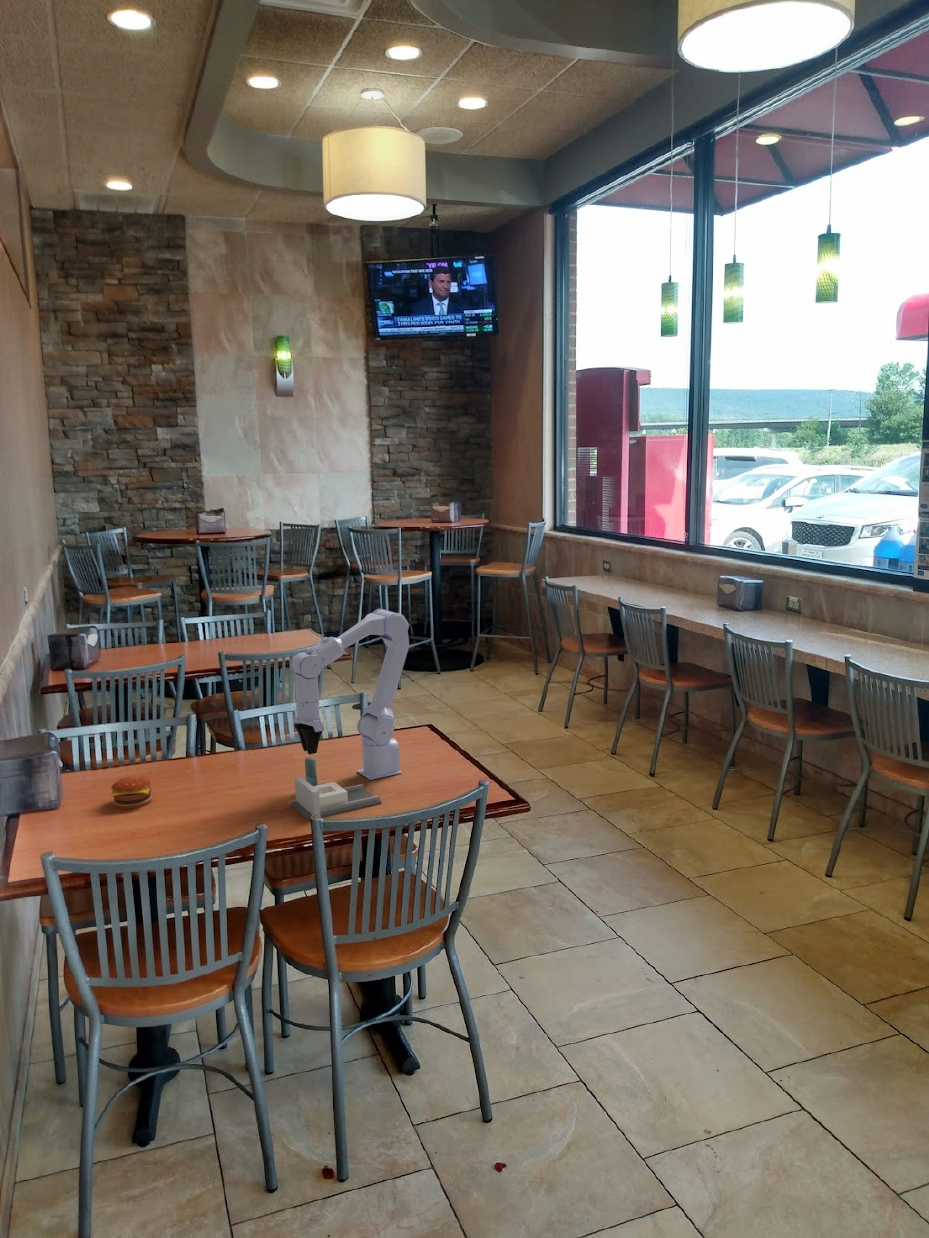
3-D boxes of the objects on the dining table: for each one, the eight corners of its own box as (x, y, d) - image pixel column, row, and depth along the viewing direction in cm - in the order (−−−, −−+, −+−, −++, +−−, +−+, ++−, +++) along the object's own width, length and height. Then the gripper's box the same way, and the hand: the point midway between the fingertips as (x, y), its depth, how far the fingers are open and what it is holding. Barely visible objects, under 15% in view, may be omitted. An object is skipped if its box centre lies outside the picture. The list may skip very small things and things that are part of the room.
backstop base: (360, 788, 235) (359, 764, 234) (381, 803, 225) (380, 777, 224) (290, 804, 226) (288, 778, 224) (308, 820, 215) (307, 793, 214)
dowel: (314, 786, 238) (313, 756, 236) (319, 789, 235) (317, 759, 234) (304, 788, 236) (303, 758, 235) (308, 791, 234) (307, 761, 232)
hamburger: (152, 807, 225) (149, 781, 224) (110, 812, 223) (108, 786, 222) (154, 793, 234) (152, 769, 233) (115, 798, 232) (112, 773, 231)
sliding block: (334, 795, 229) (334, 781, 229) (348, 805, 223) (347, 791, 222) (304, 801, 225) (303, 788, 225) (317, 812, 219) (316, 798, 218)
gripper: (282, 696, 236) (285, 747, 238) (303, 709, 223) (305, 762, 226) (308, 692, 239) (310, 742, 242) (330, 704, 227) (332, 757, 229)
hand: (310, 751), depth 234 cm, fingers closed
